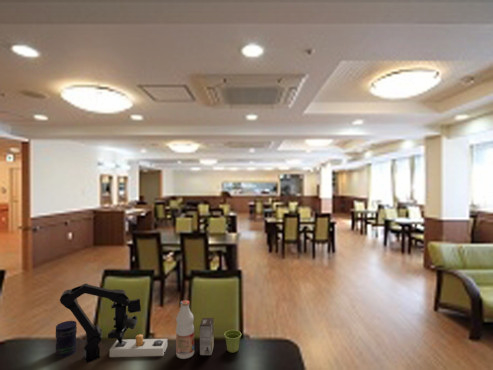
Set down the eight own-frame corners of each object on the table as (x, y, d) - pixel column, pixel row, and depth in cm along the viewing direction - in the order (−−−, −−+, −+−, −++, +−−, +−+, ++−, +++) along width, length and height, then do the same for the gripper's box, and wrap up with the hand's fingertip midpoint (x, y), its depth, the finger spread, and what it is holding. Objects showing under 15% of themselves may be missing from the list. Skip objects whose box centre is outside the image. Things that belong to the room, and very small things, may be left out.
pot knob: (134, 347, 161) (134, 337, 161) (137, 343, 165) (137, 334, 165) (141, 346, 161) (141, 337, 161) (144, 343, 165) (144, 333, 165)
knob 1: (115, 351, 160) (115, 345, 160) (118, 347, 165) (118, 340, 165) (123, 351, 161) (123, 345, 161) (126, 346, 165) (126, 340, 165)
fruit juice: (173, 352, 161) (173, 301, 161) (190, 347, 166) (189, 297, 166) (180, 361, 153) (179, 306, 153) (197, 355, 159) (196, 302, 159)
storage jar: (60, 359, 156) (59, 331, 156) (52, 353, 162) (52, 325, 162) (80, 351, 164) (80, 323, 164) (72, 345, 170) (72, 319, 170)
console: (109, 357, 158) (109, 349, 158) (117, 346, 168) (117, 339, 168) (163, 355, 158) (163, 348, 158) (167, 345, 168) (167, 338, 168)
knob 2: (152, 350, 161) (152, 344, 161) (155, 346, 165) (154, 340, 165) (160, 350, 161) (160, 344, 161) (163, 346, 166) (162, 340, 166)
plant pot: (242, 345, 168) (242, 330, 168) (240, 355, 159) (240, 338, 159) (225, 344, 169) (225, 329, 169) (222, 354, 160) (222, 338, 160)
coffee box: (202, 346, 168) (202, 317, 168) (213, 346, 168) (213, 317, 168) (199, 355, 159) (199, 325, 159) (211, 355, 159) (211, 325, 159)
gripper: (129, 322, 154) (129, 352, 154) (141, 307, 172) (141, 334, 172) (107, 322, 153) (107, 352, 153) (121, 307, 172) (121, 334, 172)
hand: (120, 343), depth 163 cm, fingers closed, pressing on knob 1
